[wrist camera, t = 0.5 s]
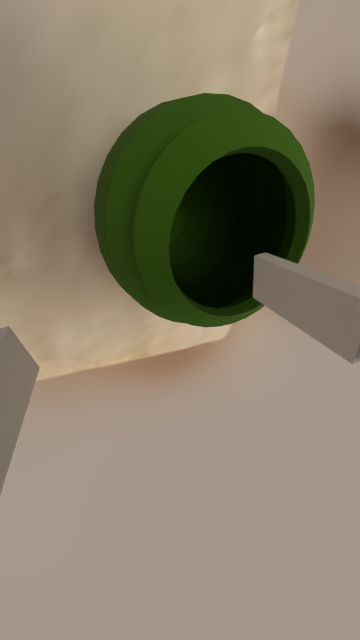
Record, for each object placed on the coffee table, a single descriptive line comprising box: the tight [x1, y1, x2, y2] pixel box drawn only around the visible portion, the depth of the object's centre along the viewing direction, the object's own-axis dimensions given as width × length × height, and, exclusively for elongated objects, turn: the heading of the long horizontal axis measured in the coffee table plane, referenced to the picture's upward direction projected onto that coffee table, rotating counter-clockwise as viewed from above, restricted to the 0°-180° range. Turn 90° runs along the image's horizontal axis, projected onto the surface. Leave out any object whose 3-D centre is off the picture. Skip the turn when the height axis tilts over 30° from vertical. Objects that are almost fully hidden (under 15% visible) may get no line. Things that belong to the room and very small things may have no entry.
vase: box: [94, 93, 315, 327], centre depth 25 cm, size 20×20×24 cm
